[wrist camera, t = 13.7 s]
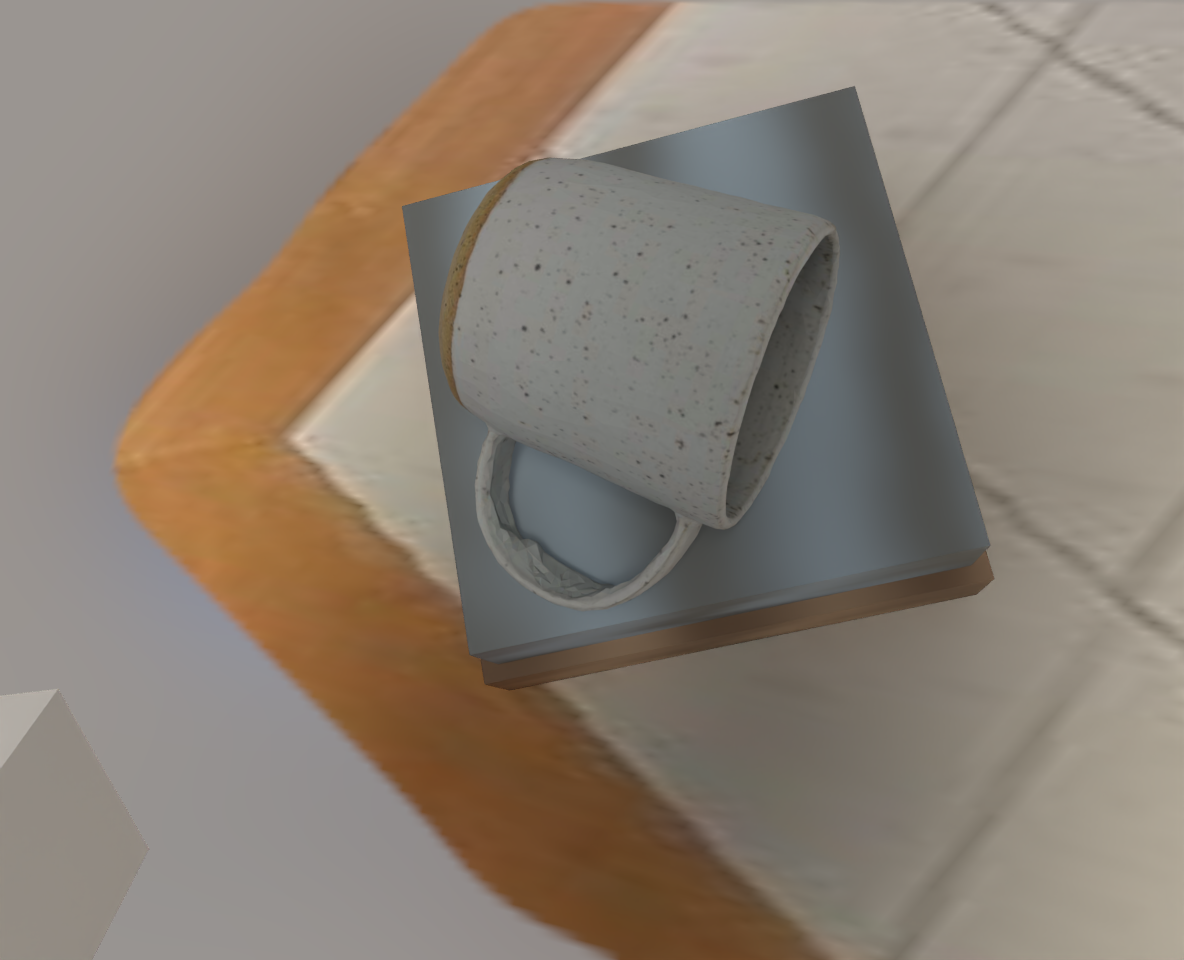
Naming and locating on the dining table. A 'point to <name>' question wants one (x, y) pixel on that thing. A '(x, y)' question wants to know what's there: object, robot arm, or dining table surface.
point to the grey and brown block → (800, 472)
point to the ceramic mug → (631, 347)
